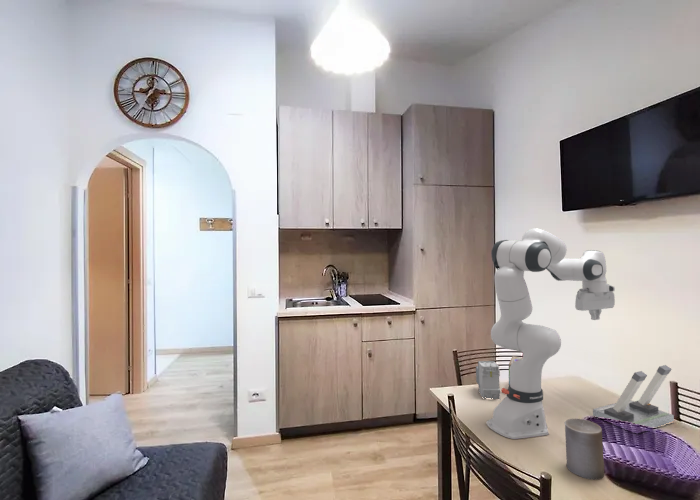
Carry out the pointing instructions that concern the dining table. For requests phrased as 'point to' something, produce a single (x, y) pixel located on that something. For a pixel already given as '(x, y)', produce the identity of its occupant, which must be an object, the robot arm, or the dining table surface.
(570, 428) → the pillar candle
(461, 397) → the dining table surface
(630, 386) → the left lever
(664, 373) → the lever
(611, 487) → the dining table surface
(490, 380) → the circuit breaker
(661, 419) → the panel
